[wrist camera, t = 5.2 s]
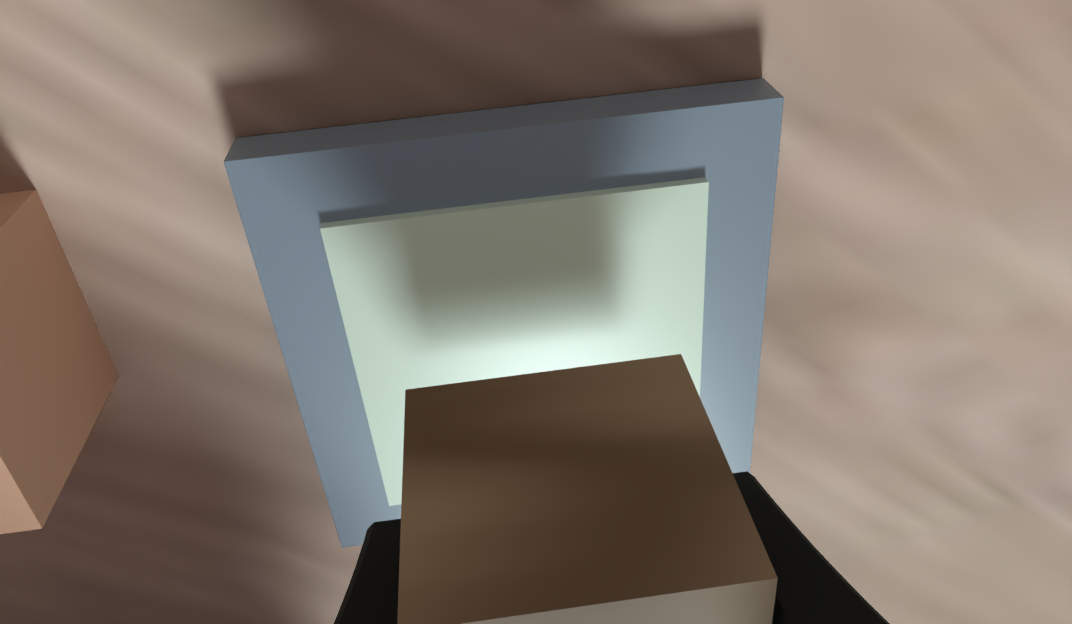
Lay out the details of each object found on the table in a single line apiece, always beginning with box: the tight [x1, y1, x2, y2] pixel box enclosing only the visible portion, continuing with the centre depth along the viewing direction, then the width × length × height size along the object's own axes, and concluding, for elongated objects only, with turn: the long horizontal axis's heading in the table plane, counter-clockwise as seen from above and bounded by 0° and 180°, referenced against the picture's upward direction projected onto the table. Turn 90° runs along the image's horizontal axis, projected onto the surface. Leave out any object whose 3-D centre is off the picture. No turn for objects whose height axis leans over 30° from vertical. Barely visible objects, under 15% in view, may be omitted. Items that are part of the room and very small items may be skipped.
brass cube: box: [397, 354, 778, 624], centre depth 11 cm, size 4×4×4 cm
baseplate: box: [224, 78, 784, 547], centre depth 16 cm, size 9×9×1 cm
